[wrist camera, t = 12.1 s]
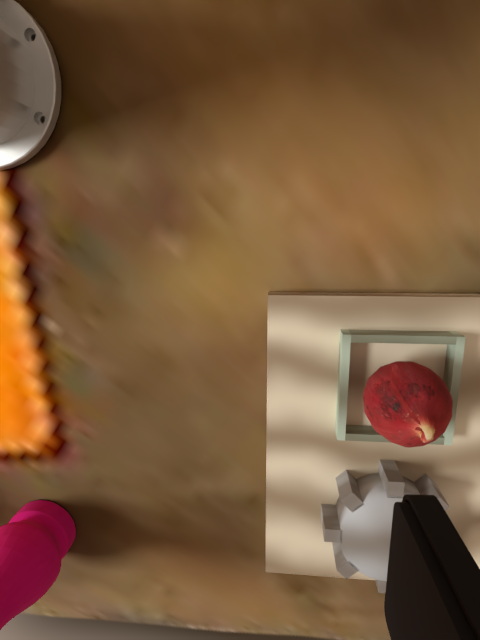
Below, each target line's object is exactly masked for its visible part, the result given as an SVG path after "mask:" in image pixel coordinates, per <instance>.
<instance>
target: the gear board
mask: <svg viewBox="0 0 480 640" xmlns="http://www.w3.org/2000/svg"><path fill="white" fill-rule="evenodd" d="M396 361H413V362H415V363H418V364H420V365H423V366H426V367H427V368H429V369H431V370H432V371H433V372H435V373H436V374H437V375H438V376H439V377H441V378H442V379H443V381H444V382H445V384H446V386H447V388H448V390H449V392H450V394H451V396H452V400H453V409H452V418H451V420H450V422H449V424H448V427H447V429H446V431H445V432H444V433H443V434H442V435H441V436H440V437H439V438H438V439H437V440H435V441H434V442H431V443H429V444H427V445H424V446H420V447H410V448H408V447H403V446H400V445H398V444H395V443H392V442H390V441H388V440H387V439H386V438H384V437H383V436H381V435H380V434H379V433H377V432H376V431H375V430H374V428H373V427H372V425H371V423H370V421H369V420H368V418H367V416H366V414H365V412H364V403H363V391H364V388H365V386H366V383H367V380H368V378H369V377H370V376H371V375H372V374H373V373H374V372H375V371H377V370H378V369H379V368H380V367H382V366H384V365H387V364H390V363H393V362H396ZM406 494H413V495H434V496H436V497H437V499H438V500H439V502H440V503H441V505H442V507H443V508H444V510H445V512H446V513H447V515H448V517H449V518H450V520H451V522H452V523H453V525H454V527H455V528H456V530H457V532H458V533H459V535H460V537H461V539H462V540H463V542H464V544H465V545H466V547H467V549H468V550H469V552H470V554H471V555H472V557H473V559H474V560H475V562H476V564H477V565H478V567H479V569H480V294H440V293H326V292H268V339H267V455H266V572H273V573H286V574H300V575H313V576H326V577H339V578H346V579H348V578H352V579H366V580H375V581H376V585H377V588H378V592H379V593H385V592H386V582H387V571H388V560H389V550H390V539H391V529H392V518H393V508H394V504H395V502H402V500H403V497H404V495H406Z"/></svg>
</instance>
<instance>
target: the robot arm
mask: <svg viewBox="0 0 480 640" xmlns="http://www.w3.org/2000/svg"><path fill="white" fill-rule="evenodd" d="M60 104H61V77H60V72H59V66H58V62H57V59H56V56H55V53H54V50H53V48H52V45H51V43H50V41H49V40H48V38H47V36H46V34H45V32H44V30H43V29H42V28H41V26H40V25H39V24H38V23H37V21H36V20H35V19H34V18H33V16H32V15H31V14H30V13H28V12H27V11H26V10H25V9H24V8H23V7H22V6H21V5H20V4H18V3H17V2H16V1H14V0H0V170H5V169H10V168H14V167H16V166H18V165H21V164H23V163H25V162H26V161H28V160H29V159H31V158H32V157H33V156H35V155H36V154H37V153H38V152H39V151H40V150H41V148H42V147H43V146H44V145H45V144H46V142H47V141H48V139H49V137H50V136H51V134H52V132H53V130H54V128H55V125H56V122H57V119H58V116H59V111H60ZM44 118H45V121H44ZM43 121H44V122H43ZM384 607H385V617H386V622H387V626H388V630H389V633H390V637H391V640H480V569H479V567H478V565H477V564H476V562H475V560H474V559H473V557H472V555H471V554H470V552H469V550H468V549H467V547H466V545H465V544H464V542H463V540H462V539H461V537H460V535H459V533H458V532H457V530H456V528H455V527H454V525H453V523H452V522H451V520H450V518H449V517H448V515H447V513H446V512H445V510H444V508H443V507H442V505H441V503H440V502H439V500H438V499H437V497H436V496H434V495H413V494H406V495H404V497H403V500H402V502H395V504H394V508H393V518H392V529H391V539H390V550H389V560H388V571H387V582H386V592H385V605H384Z"/></svg>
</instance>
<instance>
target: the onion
mask: <svg viewBox="0 0 480 640" xmlns="http://www.w3.org/2000/svg"><path fill="white" fill-rule="evenodd" d="M363 403H364V412H365V414H366V416H367V418H368V420H369V421H370V423H371V425H372V427H373V428H374V430H375V431H376V432H377V433H379V434H380V435H381V436H383V437H384V438H386V439H387V440H388V441H390V442H392V443H395V444H398V445H400V446H403V447H408V448H410V447H420V446H424V445H427V444H429V443H431V442H434V441H435V440H437V439H438V438H439V437H440V436H441V435H442V434H443V433H444V432H445V431H446V429H447V427H448V424H449V422H450V420H451V418H452V409H453V400H452V396H451V394H450V392H449V390H448V388H447V386H446V384H445V382H444V381H443V379H442V378H441V377H439V376H438V375H437V374H436V373H435V372H433V371H432V370H431V369H429V368H427V367H426V366H423V365H420V364H418V363H415V362H413V361H396V362H393V363H390V364H387V365H384V366H382V367H380V368H379V369H378V370H377V371H375V372H374V373H373V374H372V375H371V376H370V377H369V378H368V380H367V383H366V386H365V388H364V391H363Z"/></svg>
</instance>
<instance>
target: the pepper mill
mask: <svg viewBox="0 0 480 640" xmlns="http://www.w3.org/2000/svg"><path fill="white" fill-rule="evenodd" d="M75 536H76V528H75V523H74V521H73V519H72V517H71V516H70V515H69V513H68V512H67V511H66V510H65V509H64V508H62V507H61V506H59V505H58V504H56V503H54V502H50V501H46V500H36V501H32V502H29V503H27V504H26V505H24V506H23V507H22V508H21V509H20V510H19V511H18V512H17V513H16V514H15V515H14V517H13V518H12V519H11V520H10V522H9V523H8V524H5V525H3V526H1V527H0V630H1V628H2V627H3V626H4V625H5V624H6V623H7V622H8V621H10V620H11V619H12V618H14V617H15V616H16V615H18V614H19V613H21V612H22V611H24V610H25V609H27V608H28V607H30V606H31V605H33V604H34V603H35V602H36V601H38V600H39V599H40V598H41V597H42V596H43V595H44V594H45V593H46V592H47V591H48V590H49V588H50V587H51V586H52V584H53V583H54V582H55V580H56V578H57V576H58V574H59V572H60V567H61V559H62V558H63V557H64V556H65V555H66V553H67V552H68V550H69V549H70V547H71V545H72V544H73V542H74V540H75Z"/></svg>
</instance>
